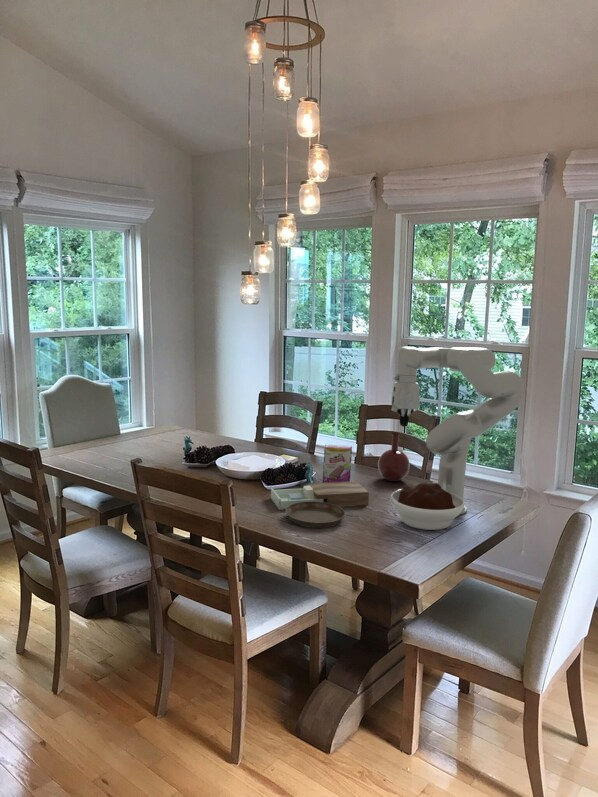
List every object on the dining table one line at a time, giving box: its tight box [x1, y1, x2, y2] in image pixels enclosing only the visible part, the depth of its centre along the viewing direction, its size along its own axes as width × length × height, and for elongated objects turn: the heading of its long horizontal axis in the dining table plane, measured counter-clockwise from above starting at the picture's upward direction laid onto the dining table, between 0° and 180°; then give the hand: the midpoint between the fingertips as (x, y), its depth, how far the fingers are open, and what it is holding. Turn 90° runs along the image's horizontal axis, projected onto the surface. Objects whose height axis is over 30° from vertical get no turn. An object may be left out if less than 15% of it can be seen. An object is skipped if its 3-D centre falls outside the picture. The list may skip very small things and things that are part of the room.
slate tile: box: [288, 493, 304, 500], centre depth 252 cm, size 5×5×2 cm
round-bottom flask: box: [377, 432, 411, 482], centre depth 284 cm, size 13×13×20 cm
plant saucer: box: [285, 502, 346, 529], centre depth 236 cm, size 21×21×3 cm
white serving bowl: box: [389, 482, 466, 531], centre depth 233 cm, size 25×25×15 cm
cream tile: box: [302, 485, 314, 499], centre depth 253 cm, size 5×5×2 cm
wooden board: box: [306, 480, 370, 508], centre depth 256 cm, size 14×20×5 cm
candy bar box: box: [322, 444, 353, 483], centre depth 274 cm, size 11×5×16 cm, turn 84°
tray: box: [270, 487, 324, 511], centre depth 253 cm, size 13×17×4 cm
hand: (403, 425), depth 265 cm, fingers closed
